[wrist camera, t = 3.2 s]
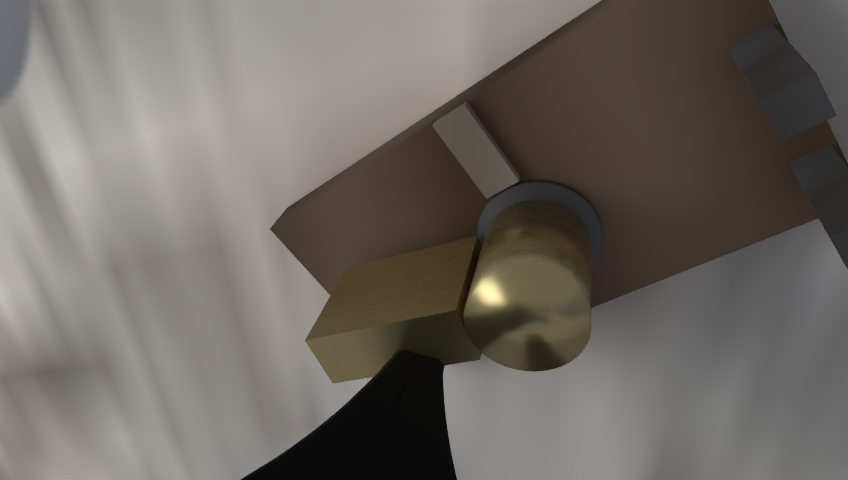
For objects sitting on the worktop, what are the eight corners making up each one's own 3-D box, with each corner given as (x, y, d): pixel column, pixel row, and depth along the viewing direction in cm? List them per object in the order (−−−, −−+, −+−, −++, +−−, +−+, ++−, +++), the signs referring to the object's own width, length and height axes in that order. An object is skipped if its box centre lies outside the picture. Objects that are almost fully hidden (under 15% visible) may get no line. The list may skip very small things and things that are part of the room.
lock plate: (722, -80, 10) (771, -45, 7) (847, 174, 12) (923, 280, 9) (286, 208, 16) (218, 291, 13) (416, 354, 17) (381, 456, 15)
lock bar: (573, 187, 12) (568, 261, 10) (604, 277, 13) (606, 361, 11) (336, 250, 14) (292, 321, 12) (378, 323, 15) (343, 400, 13)
